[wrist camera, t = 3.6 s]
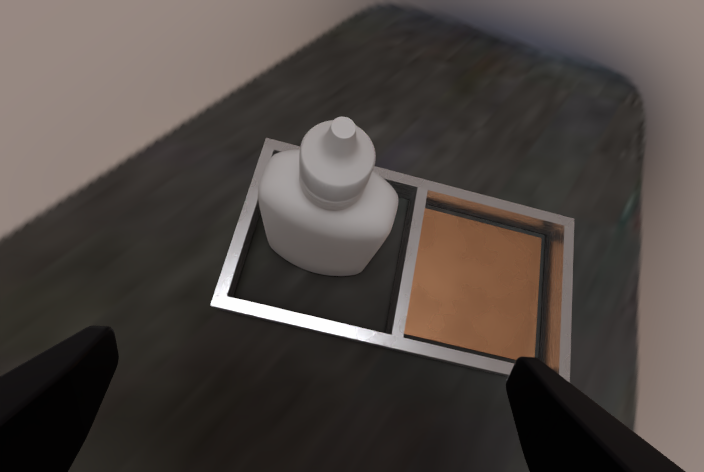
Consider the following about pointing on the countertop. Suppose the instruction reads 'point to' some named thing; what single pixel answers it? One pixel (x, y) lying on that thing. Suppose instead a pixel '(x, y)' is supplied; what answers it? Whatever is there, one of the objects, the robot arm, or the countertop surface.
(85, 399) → the robot arm
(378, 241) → the eye dropper bottle
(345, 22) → the countertop surface
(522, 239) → the tray
